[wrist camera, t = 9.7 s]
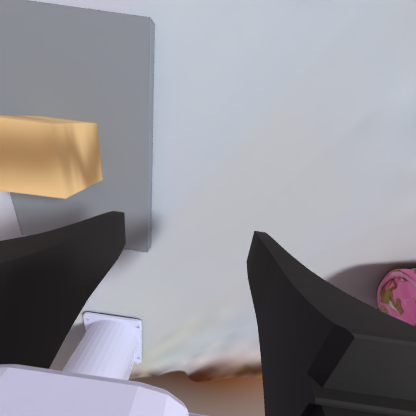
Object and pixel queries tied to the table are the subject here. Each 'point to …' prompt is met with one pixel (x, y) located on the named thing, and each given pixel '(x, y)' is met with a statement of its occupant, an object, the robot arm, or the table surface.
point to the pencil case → (399, 295)
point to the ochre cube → (48, 155)
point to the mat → (84, 104)
